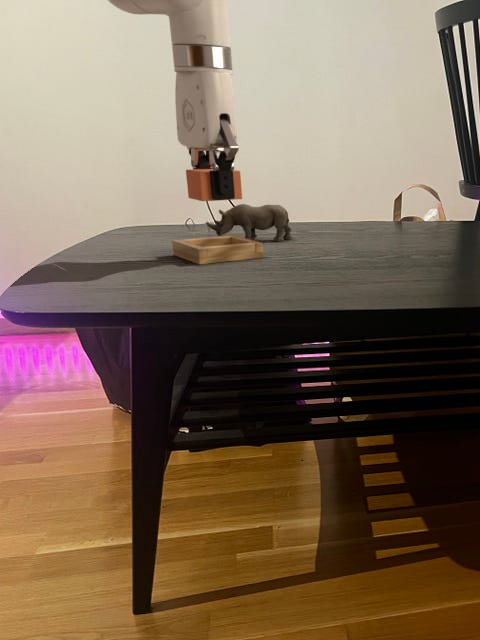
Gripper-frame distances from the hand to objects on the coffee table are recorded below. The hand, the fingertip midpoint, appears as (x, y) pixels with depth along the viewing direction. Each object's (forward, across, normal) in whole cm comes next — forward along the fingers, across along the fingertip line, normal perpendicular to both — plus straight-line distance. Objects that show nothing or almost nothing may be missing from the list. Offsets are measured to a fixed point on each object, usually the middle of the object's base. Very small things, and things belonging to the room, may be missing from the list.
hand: (215, 196), depth 102 cm
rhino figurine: (+9, -11, +11) cm, 18 cm away
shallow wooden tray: (+9, 0, 0) cm, 9 cm away
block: (0, 0, 0) cm, 0 cm away
